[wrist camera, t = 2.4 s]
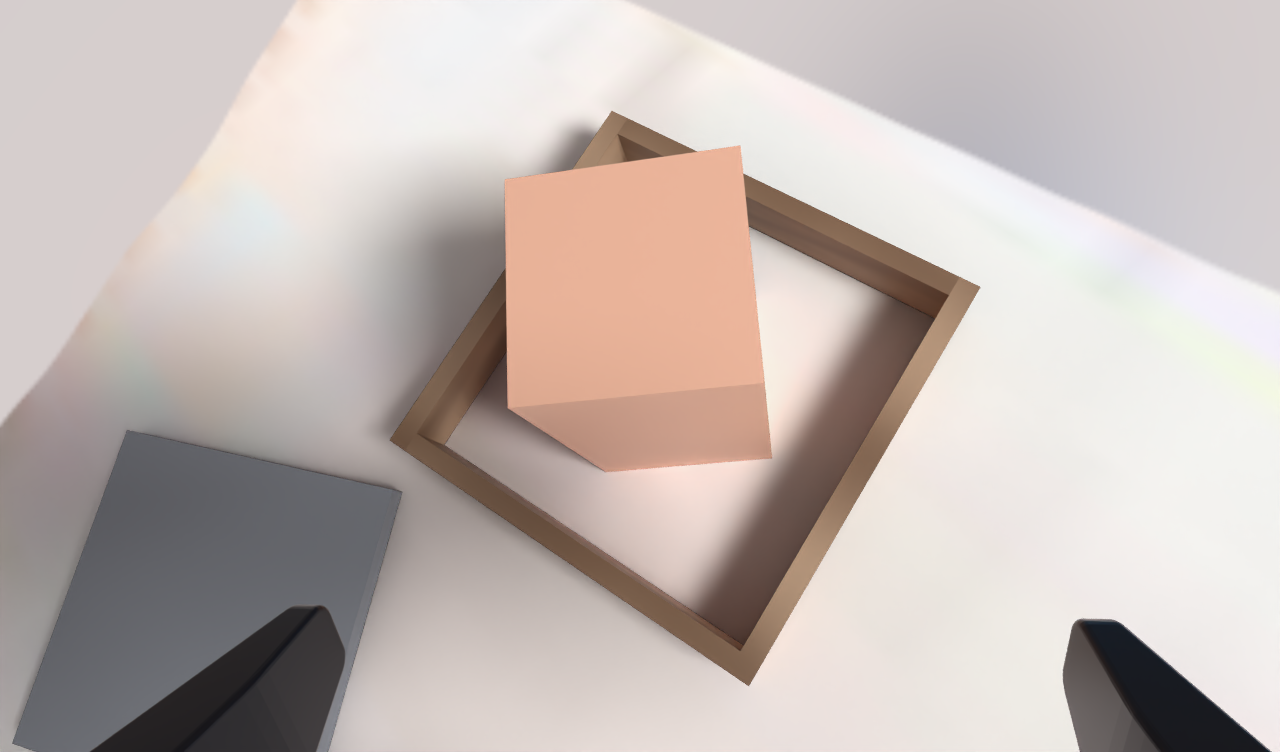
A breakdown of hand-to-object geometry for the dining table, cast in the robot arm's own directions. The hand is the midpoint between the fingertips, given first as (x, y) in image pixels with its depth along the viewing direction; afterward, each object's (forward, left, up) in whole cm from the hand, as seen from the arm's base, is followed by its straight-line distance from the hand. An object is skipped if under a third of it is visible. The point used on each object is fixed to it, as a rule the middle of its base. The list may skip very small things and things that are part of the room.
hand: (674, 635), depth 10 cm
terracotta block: (+6, +3, -14) cm, 15 cm away
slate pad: (-4, +16, -13) cm, 21 cm away
